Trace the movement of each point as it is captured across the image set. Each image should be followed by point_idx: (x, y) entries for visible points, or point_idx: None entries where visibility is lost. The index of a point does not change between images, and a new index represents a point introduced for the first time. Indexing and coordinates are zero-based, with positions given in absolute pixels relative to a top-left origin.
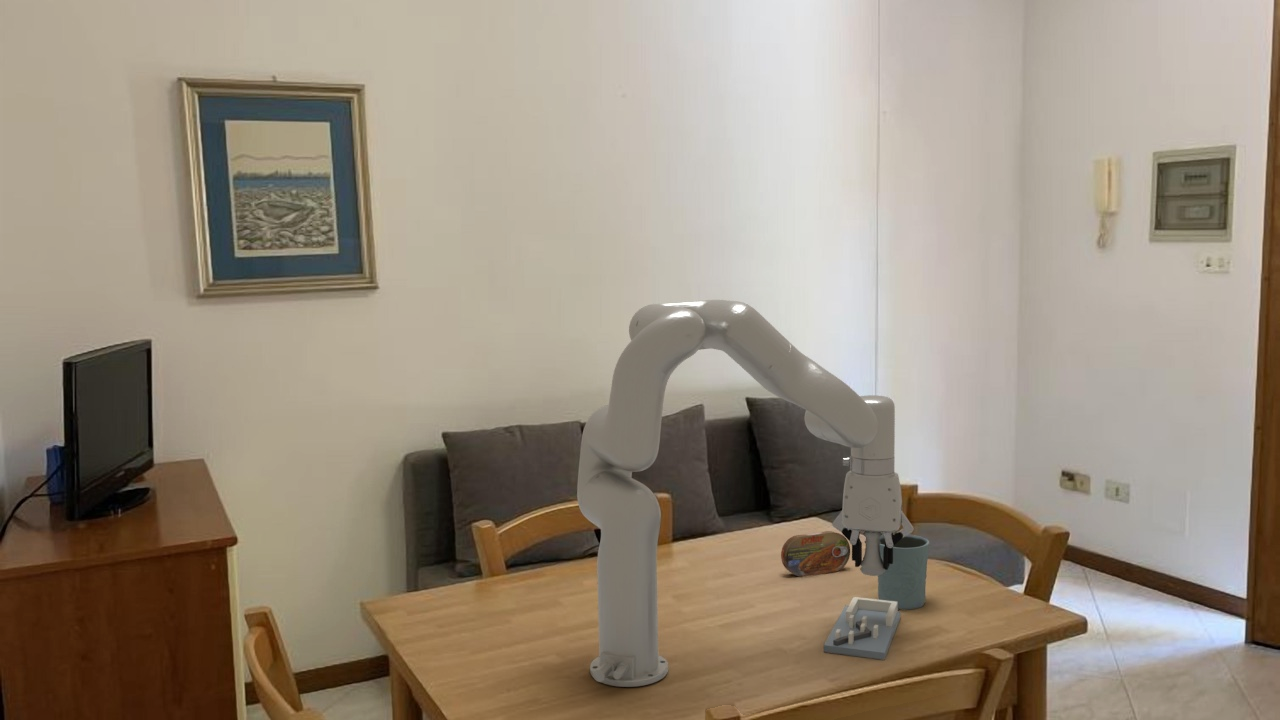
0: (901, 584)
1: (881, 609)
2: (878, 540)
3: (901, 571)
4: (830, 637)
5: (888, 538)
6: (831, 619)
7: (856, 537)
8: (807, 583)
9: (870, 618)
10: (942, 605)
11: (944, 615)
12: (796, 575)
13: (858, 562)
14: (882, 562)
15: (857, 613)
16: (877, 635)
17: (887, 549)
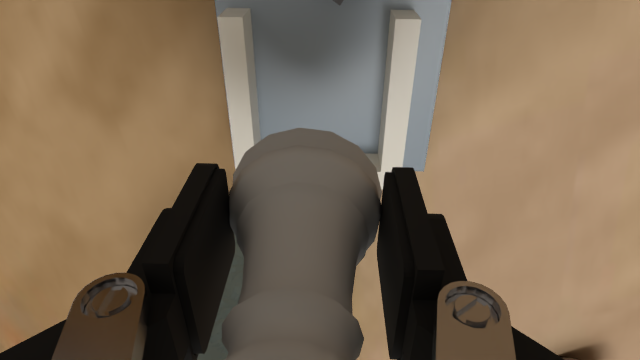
0: (237, 275)
1: None
2: (229, 350)
3: (227, 315)
4: None
5: (91, 352)
6: (466, 78)
7: (448, 346)
8: (535, 325)
9: (321, 72)
10: None
11: (125, 208)
12: (565, 358)
13: (392, 185)
14: (236, 221)
15: (375, 109)
16: None
17: (150, 262)
